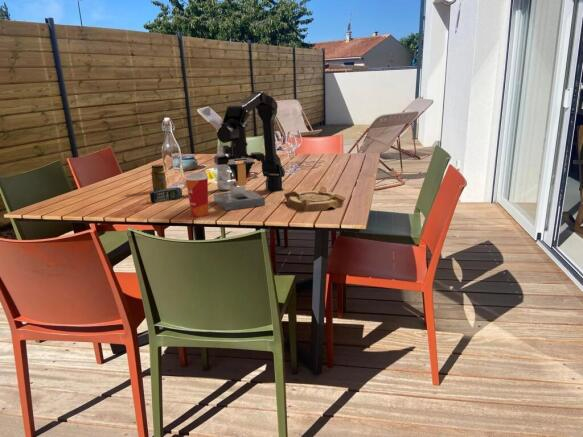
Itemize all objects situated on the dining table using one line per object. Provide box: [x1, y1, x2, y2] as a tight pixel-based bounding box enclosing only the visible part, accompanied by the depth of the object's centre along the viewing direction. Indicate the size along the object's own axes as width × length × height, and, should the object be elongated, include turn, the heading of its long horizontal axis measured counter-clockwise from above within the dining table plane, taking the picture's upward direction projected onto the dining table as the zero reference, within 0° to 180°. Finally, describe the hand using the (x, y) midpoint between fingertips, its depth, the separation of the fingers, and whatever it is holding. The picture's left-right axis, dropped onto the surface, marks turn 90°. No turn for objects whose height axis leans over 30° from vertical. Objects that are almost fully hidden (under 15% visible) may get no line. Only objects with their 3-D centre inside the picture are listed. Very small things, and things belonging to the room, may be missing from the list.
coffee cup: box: [184, 172, 209, 218], centre depth 158 cm, size 8×8×15 cm
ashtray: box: [283, 186, 346, 212], centre depth 171 cm, size 24×24×5 cm
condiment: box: [150, 164, 168, 193], centre depth 197 cm, size 7×8×12 cm
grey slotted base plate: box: [213, 180, 266, 211], centre depth 174 cm, size 16×16×8 cm
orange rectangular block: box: [235, 162, 247, 186], centre depth 168 cm, size 3×3×8 cm
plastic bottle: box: [215, 145, 232, 191], centre depth 196 cm, size 6×7×20 cm
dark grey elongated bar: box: [149, 187, 185, 204], centre depth 182 cm, size 5×3×15 cm
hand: (241, 180), depth 168 cm, fingers closed on orange rectangular block, 3 cm apart
